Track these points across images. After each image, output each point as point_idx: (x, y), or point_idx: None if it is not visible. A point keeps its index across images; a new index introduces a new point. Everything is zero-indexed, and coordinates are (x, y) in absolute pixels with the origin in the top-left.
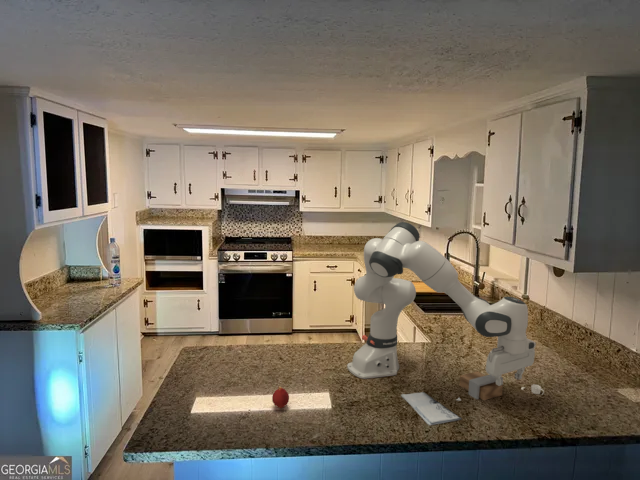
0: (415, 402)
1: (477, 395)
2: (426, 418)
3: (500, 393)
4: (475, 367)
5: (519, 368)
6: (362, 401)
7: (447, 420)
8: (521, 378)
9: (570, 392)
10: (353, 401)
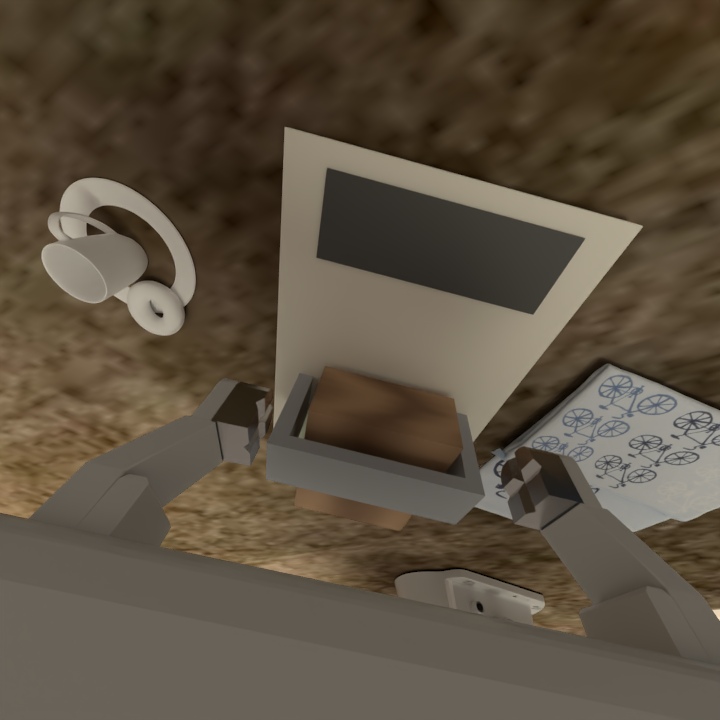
0: (632, 523)
1: (468, 435)
2: None
3: (335, 376)
4: (212, 480)
5: (230, 590)
6: (689, 580)
7: None
8: (222, 380)
9: None
10: (701, 588)
